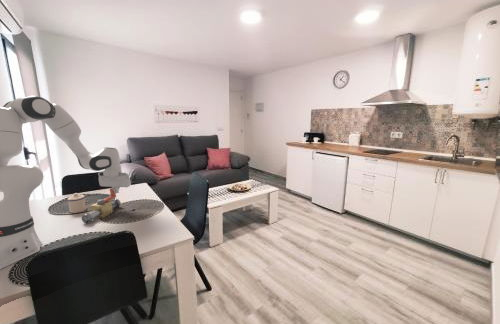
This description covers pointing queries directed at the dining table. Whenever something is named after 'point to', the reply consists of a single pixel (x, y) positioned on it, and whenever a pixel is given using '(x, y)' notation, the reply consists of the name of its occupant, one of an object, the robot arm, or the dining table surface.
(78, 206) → the teacup with lid
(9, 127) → the robot arm
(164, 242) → the dining table surface
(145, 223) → the dining table surface
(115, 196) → the valve lever
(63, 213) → the dining table surface
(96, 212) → the valve pipe
